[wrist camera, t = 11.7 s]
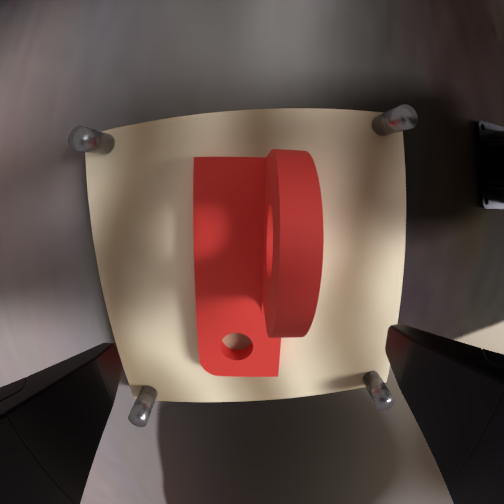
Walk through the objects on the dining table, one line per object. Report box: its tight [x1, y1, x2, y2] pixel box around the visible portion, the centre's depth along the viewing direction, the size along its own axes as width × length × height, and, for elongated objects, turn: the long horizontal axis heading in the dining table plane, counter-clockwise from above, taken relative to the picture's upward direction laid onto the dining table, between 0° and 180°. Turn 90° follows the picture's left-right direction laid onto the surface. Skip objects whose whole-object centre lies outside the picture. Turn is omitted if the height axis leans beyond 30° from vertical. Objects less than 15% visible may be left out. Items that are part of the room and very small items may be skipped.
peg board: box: [68, 104, 418, 427], centre depth 15 cm, size 18×18×4 cm
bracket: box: [193, 149, 324, 377], centre depth 12 cm, size 12×4×8 cm, turn 179°
